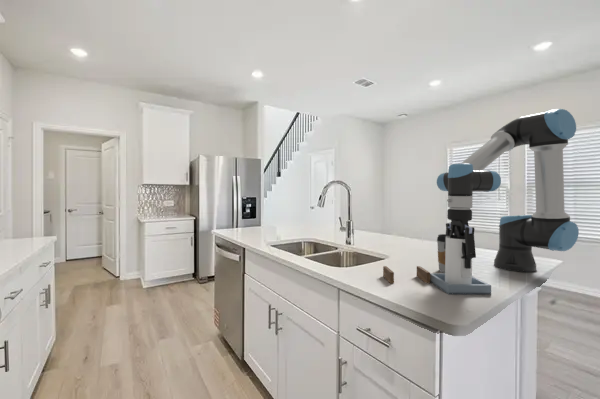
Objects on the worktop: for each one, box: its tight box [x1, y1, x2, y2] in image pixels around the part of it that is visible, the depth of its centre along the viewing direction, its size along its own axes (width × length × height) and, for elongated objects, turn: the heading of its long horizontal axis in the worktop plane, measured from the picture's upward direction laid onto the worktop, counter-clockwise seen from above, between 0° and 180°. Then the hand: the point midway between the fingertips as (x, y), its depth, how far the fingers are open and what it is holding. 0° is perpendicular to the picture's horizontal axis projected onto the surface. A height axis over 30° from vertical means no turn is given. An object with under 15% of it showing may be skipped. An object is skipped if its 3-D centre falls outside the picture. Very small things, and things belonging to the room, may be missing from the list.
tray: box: [430, 272, 492, 296], centre depth 104 cm, size 14×14×3 cm
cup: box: [444, 236, 473, 284], centre depth 103 cm, size 8×8×16 cm
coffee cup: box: [436, 233, 446, 273], centre depth 124 cm, size 8×8×15 cm
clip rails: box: [382, 265, 431, 284], centre depth 112 cm, size 14×9×4 cm, turn 91°
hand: (458, 273), depth 103 cm, fingers closed on cup, 8 cm apart
